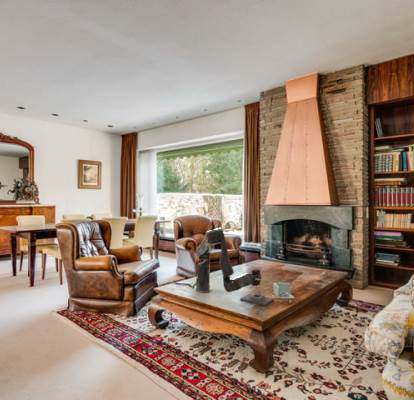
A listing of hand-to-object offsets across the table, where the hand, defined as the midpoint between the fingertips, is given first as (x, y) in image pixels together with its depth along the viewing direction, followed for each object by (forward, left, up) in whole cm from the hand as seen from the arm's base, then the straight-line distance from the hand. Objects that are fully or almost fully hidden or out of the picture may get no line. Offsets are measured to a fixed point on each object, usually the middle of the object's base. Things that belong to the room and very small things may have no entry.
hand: (257, 275), depth 214 cm
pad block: (0, -3, -6) cm, 7 cm away
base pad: (0, -2, -17) cm, 17 cm away
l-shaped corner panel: (+10, +21, -17) cm, 29 cm away
